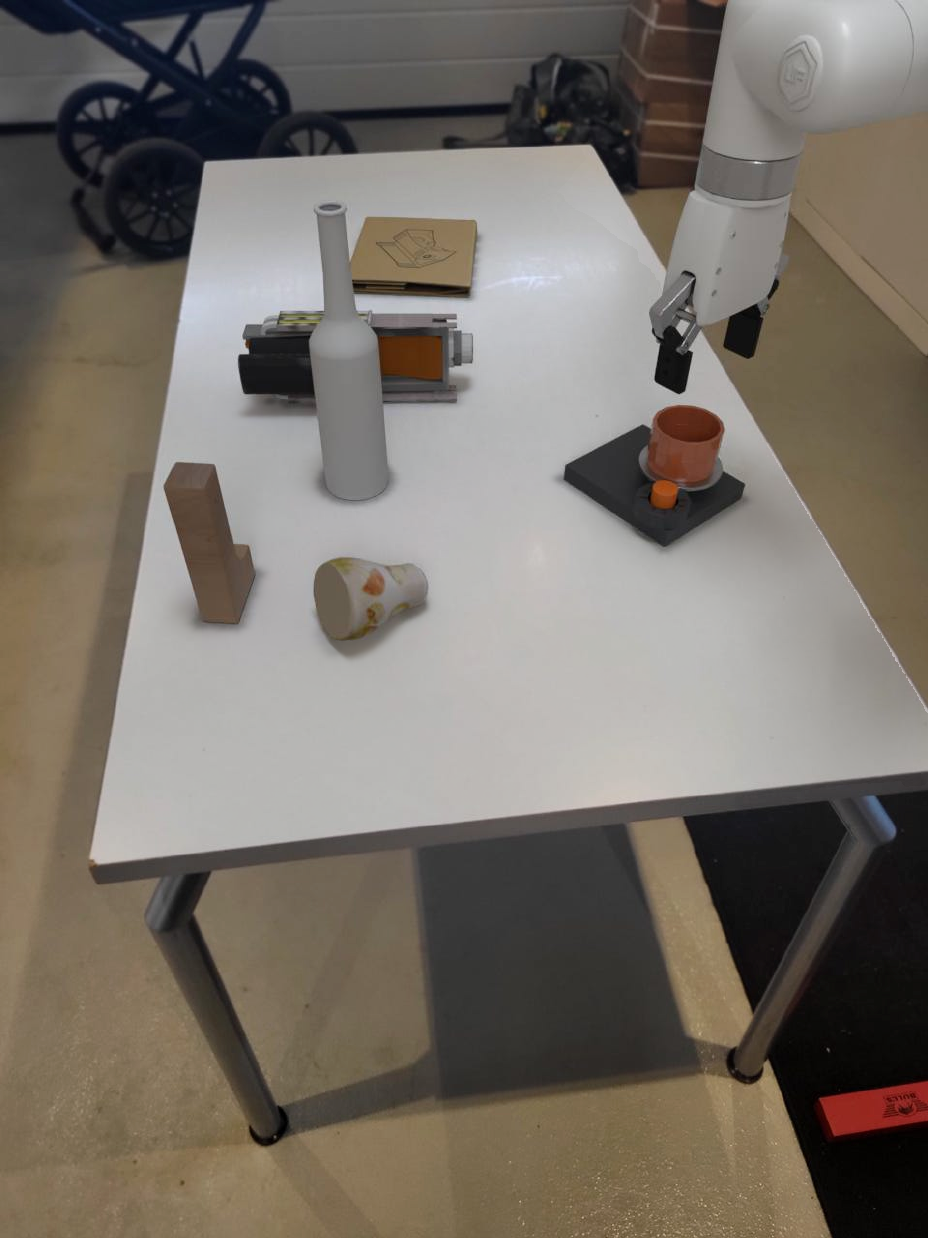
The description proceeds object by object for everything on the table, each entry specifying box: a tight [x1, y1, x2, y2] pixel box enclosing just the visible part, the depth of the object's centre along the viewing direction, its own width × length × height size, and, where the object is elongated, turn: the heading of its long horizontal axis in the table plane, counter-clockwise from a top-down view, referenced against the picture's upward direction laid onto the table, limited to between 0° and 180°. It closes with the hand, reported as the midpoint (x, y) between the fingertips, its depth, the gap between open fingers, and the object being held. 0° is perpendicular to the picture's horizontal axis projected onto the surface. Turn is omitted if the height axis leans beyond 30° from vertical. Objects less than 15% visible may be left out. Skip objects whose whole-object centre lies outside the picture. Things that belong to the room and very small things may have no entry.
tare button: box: [650, 480, 678, 509], centre depth 85 cm, size 2×2×2 cm
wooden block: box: [162, 461, 256, 624], centre depth 75 cm, size 7×3×15 cm, turn 176°
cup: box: [646, 404, 726, 483], centre depth 87 cm, size 7×7×4 cm
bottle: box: [309, 199, 389, 501], centre depth 83 cm, size 7×7×28 cm
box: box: [350, 216, 478, 298], centre depth 129 cm, size 21×18×2 cm
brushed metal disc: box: [638, 445, 724, 491], centre depth 89 cm, size 8×8×1 cm
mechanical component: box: [237, 309, 474, 405], centre depth 100 cm, size 9×26×10 cm, turn 91°
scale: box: [563, 423, 746, 547], centre depth 91 cm, size 14×13×4 cm
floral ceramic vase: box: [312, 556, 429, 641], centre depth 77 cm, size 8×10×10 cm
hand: (704, 369), depth 81 cm, fingers open, 9 cm apart
